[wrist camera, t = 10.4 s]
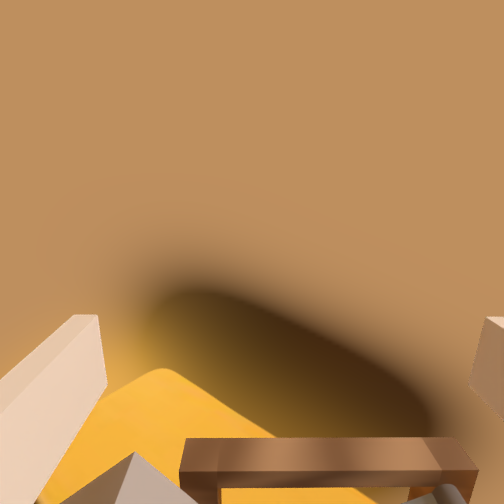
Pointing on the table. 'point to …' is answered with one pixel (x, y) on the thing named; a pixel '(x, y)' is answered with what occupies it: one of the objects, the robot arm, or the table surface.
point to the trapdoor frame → (323, 464)
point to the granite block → (131, 486)
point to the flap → (440, 496)
